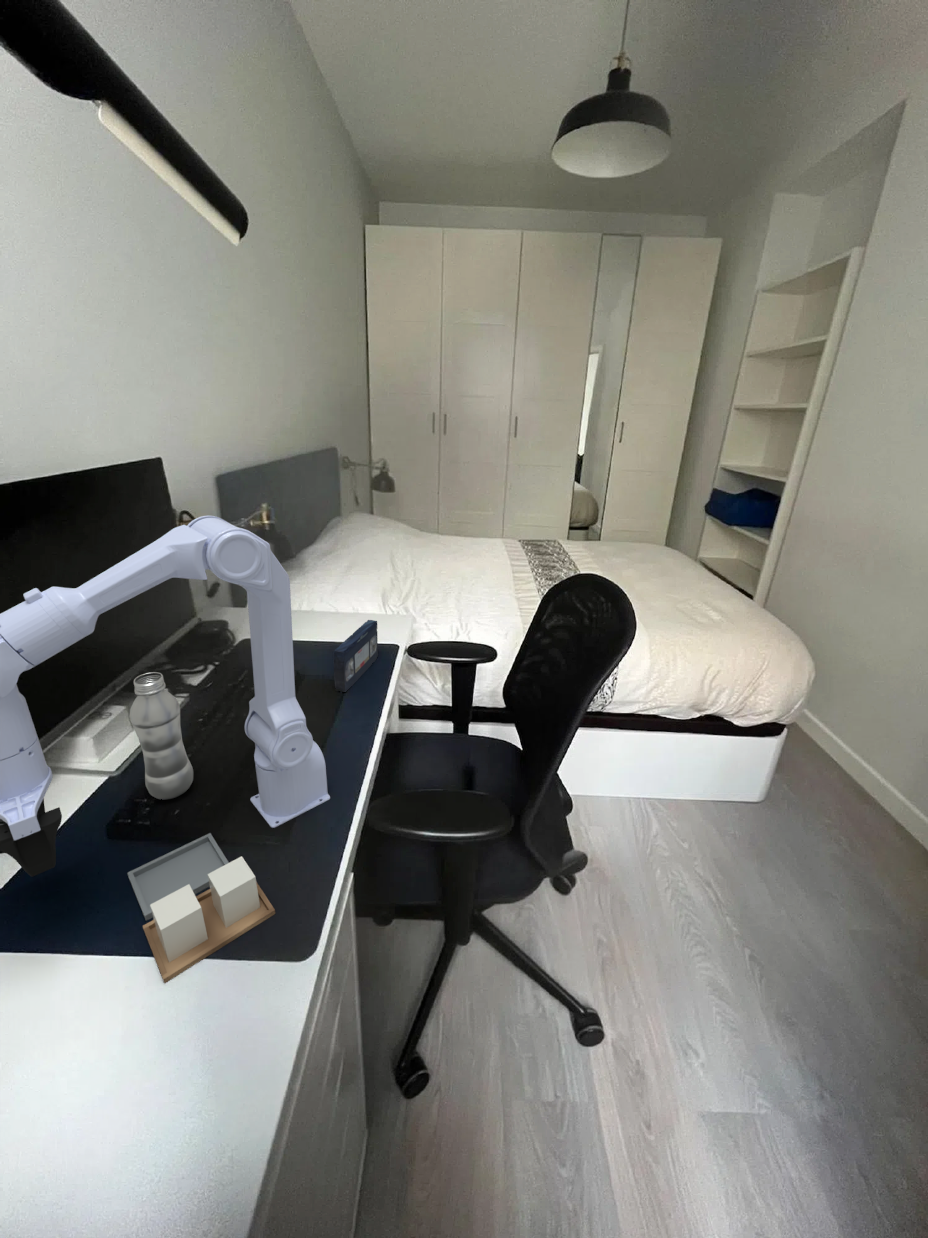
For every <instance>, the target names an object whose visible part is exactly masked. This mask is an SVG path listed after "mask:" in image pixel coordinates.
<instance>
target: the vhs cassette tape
mask: <svg viewBox="0 0 928 1238" xmlns="http://www.w3.org/2000/svg"><path fill="white" fill-rule="evenodd" d="M378 649H379V647H378V621H377V620H373V619H368V620H367V621H365V622H364V623H362V625H361V626H359V627H358V628H357V629H356V630H355V631H354V632H353V633H352V634H351V635H350V636H349V637H347V638H346V639H345V640H343V642H342V643H340V645H339V646H338V647H337V648H335V649H334V650H333V651H332V653H333V655H332V658H333V659H332V660H333V675H334V677H333V678H334V689H335V688H336V689H340V690H342V691H343V692H346V691H347V690H348V689H349V688H350V687H351V686H352V687H353V685H354V684H355V683H356V682H357V681H358V680H359V679H360V678H361V677H362V675H364V674H365V672H367V671H368V669H369V668H370V667H372V665H373V664H374V663H375V661H376V660H377V659H378V658H379V657H378V656H379V655H378V653H379V652H378V651H379V650H378ZM377 657H378V658H377ZM373 662H374V663H373ZM372 663H373V664H372ZM352 687H351V688H352ZM351 688H350V689H351ZM350 689H349V690H350ZM349 690H348V691H349ZM348 691H347V692H348ZM347 692H346V693H347Z"/></svg>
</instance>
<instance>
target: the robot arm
mask: <svg viewBox="0 0 928 1238" xmlns="http://www.w3.org/2000/svg"><path fill="white" fill-rule="evenodd" d="M207 570H209V571H210V572H211V573H212V574H213V575H215V576H216V577H217V578H218V579H220V580H222V581H223V582H227V583H230V584H234V585H237V586H240V587H242V588H243V589H244V590H245V591H246V599H247V608H248V622H249V624H248V625H249V635H250V637H249V638H250V647H251V660H252V661H251V663H252V673H253V674H252V675H253V684H254V685H253V688H254V689H253V690H254V696H253V698H251V699H250V700H249V701H248V705H249V711H248V714H247V717H246V719H245V721H244V732H245V735H246V736H247V737H248V738H249V740H251V741H253V743H254V747H255V749H254V754H253V757H254V765H255V767H254V768H255V772H256V773H255V774H256V781H257V787H258V793H257V794H256V795H253V796H251V797H250V802H251V803H252V804H253V806H254V807H255V809H257V812H259V814H260V816H262V817H263V819H264V820H265V821H266V823H267V825H269V827H270V828H272V829H273V828H274V829H275V828H277V827H279V826H281V825H283V824H284V823H286V822H288V821H291V820H292V819H294V818H296V817H298V816H301V815H302V814H304V813H306V812H307V811H310V810H311V809H314V808H315V807H317V806H319V805H321V804H323V803H325V802H327V801H329V800H330V799H331V796H330V794H329V793H328V779H327V769H326V768H327V767H326V765H327V764H326V760H325V757H324V754H323V752H322V750H321V748H320V747H319V745H318V744H317V742H316V741H314V740H313V739H314V738H313V734H312V733H311V732H310V731H309V729H308V726H307V718H306V715H305V714H304V711H303V709H302V708H301V706H300V704H299V702H298V700H297V697H296V685H295V684H296V683H295V665H294V664H295V662H294V660H295V659H294V643H293V642H294V640H293V639H294V638H293V623H292V622H293V620H292V619H293V618H292V599H291V596H292V595H291V581H290V576H289V574H288V573H287V571H286V569H285V568H284V567H283V566H282V564H281V563H280V561H279V560H278V558H277V557H276V555H275V554H274V553H273V551H272V549H271V545H270V543H269V542H268V541H266V540H264V539H263V538H261V537H260V536H258V535H257V534H255V533H253V531H252V532H251V531H250V530H248V529H245V528H242V527H238V526H236V525H234V524H231V523H230V522H228V521H227V520H225V519H223V518H221V517H219V516H217V515H215V516H214V515H201V516H198V517H197V518H195V519H192V520H191V521H190V522H188V524H187V525H186V524H182V525H178V526H176V527H174V528H172V529H170V530H169V531H168V532H166V533H165V534H163V535H162V536H161V537H159V538H158V539H156V540H155V541H152V542H151V543H150V544H148V545H146V546H144V547H143V548H141V549H140V550H138V551H136V552H135V553H133V554H131V555H129V556H127V557H126V558H125V559H123V560H121V561H120V562H118V563H116V564H114V565H113V566H111V567H109V568H108V569H106V570H105V571H103V572H101V573H100V574H97V575H96V576H95V577H92V578H90V579H89V580H88V581H86V582H84V583H83V584H81V585H80V586H78V587H76V588H72V587H63V586H51V587H49V588H47V589H45V590H43V591H40V589H39V588H37V587H35V588H34V587H33V588H32V589H31V590H29V591H26V592H24V593H23V596H22V597H23V599H24V601H22V602H21V603H18V604H17V605H15V606H12V607H11V608H8V609H7V610H5V611H3V612H1V613H0V820H2V821H3V822H4V823H3V824H2V825H0V852H3V853H4V854H6V855H8V856H10V857H11V858H12V859H14V860H15V862H16V863H18V865H19V866H20V867H21V869H22V870H23V871H24V872H25V873H27V875H28V876H30V877H32V878H33V877H35V876H37V875H40V874H42V873H44V872H48V871H49V870H51V869H53V868H55V867H56V863H57V850H56V840H57V833H58V831H59V830H58V829H59V827H60V826H61V823H62V818H63V815H62V811H61V807H60V806H59V807H56V808H53V809H51V810H48V811H46V807H45V796H46V794H47V791H48V789H49V787H50V785H51V782H52V780H53V776H54V775H53V771H52V769H51V767H50V766H49V765H47V760H46V757H45V755H44V752H43V749H42V745H41V742H40V739H39V737H38V734H37V731H36V728H35V724H34V721H33V719H32V715H31V712H30V710H29V706H28V703H27V700H26V697H25V696H24V695H23V694H22V693H21V692H20V690H19V687H18V684H17V683H18V681H19V677H20V676H21V674H22V673H23V672H26V671H29V670H31V669H32V668H35V667H36V666H38V665H40V664H42V663H44V662H45V661H46V660H48V659H50V658H52V657H53V656H56V655H57V654H58V653H61V652H63V651H64V650H66V649H67V648H69V647H70V646H72V645H74V644H76V643H77V642H79V641H81V640H82V639H84V638H85V637H87V636H89V635H92V634H93V633H94V631H95V629H96V625H97V621H98V618H99V617H100V615H101V614H103V613H106V612H107V611H109V610H111V609H113V608H115V607H117V606H120V605H121V604H123V603H125V602H127V601H129V600H130V599H133V598H135V597H136V596H138V595H140V594H142V593H145V592H147V591H149V590H151V589H152V588H154V587H157V586H158V585H160V584H162V583H164V582H165V581H168V580H170V579H172V578H175V579H176V578H179V579H188V580H199V581H207V580H208V576H207V573H206V571H207Z"/></svg>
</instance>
